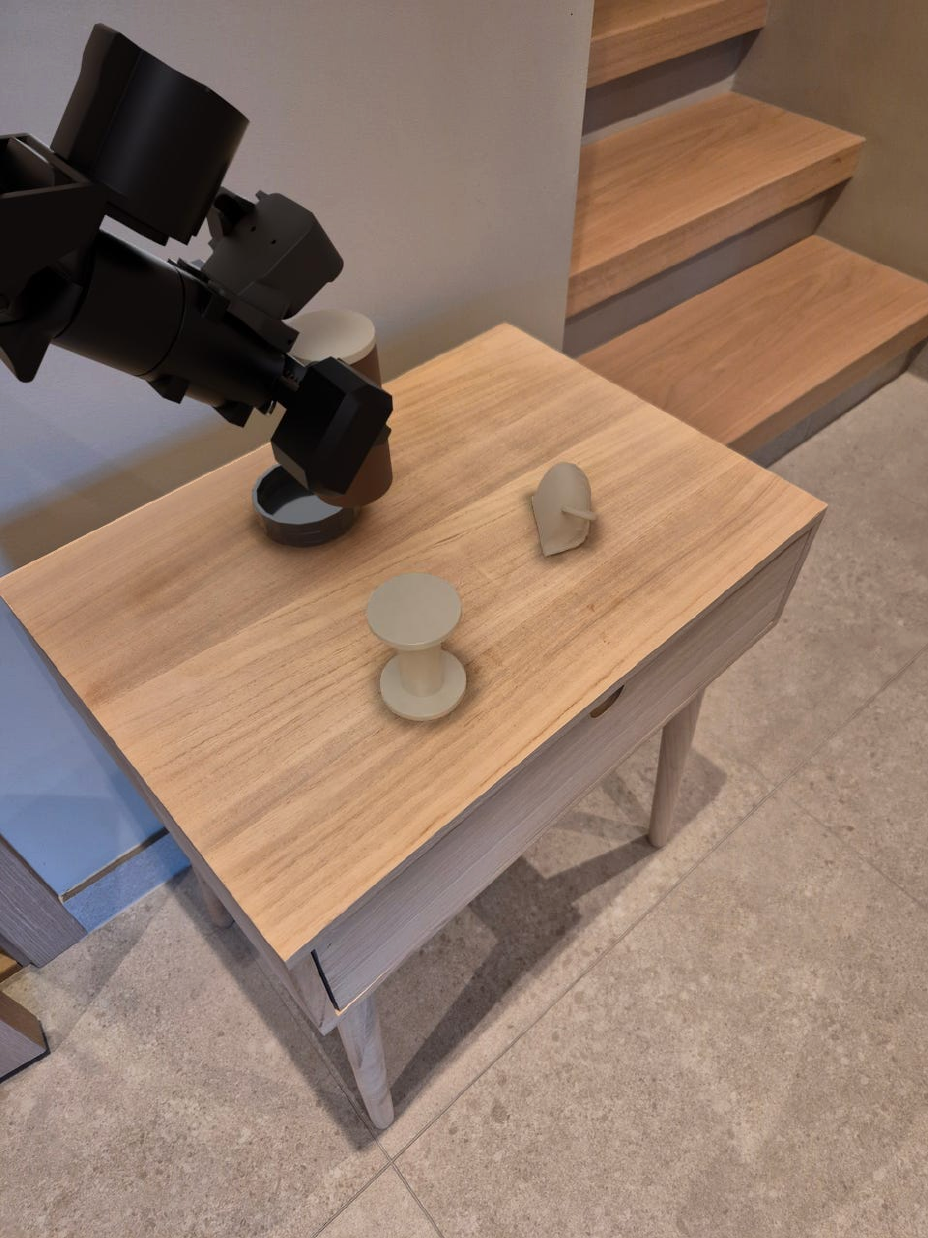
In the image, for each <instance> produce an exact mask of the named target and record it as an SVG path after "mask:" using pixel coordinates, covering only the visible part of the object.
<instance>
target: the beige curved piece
mask: <svg viewBox="0 0 928 1238" xmlns="http://www.w3.org/2000/svg"><path fill="white" fill-rule="evenodd" d="M530 500H531V505H532V509H533V513H534V517H535V521H536V525H537V529H538V536H539V541H540V546H541V550H542V553H543V556H544V557H545V558H547V557H549V556H553V555H556V554H559V553H562V552H566V551H568V550H572V549H575V548H577V547H579V545H581V544H582V543H584V542H585V539H586V537H587V536H588V535H589V529H590V527H591V524H590V523H591V522H596V521H597V520H598V517H599V516H598V514H597V513H596V512H593V511H591V506H592V488H591V485H590V482H589V479H588V476H587V475H586V473H584V471H583V469H582V468H581V467H579V466H578V465H577V464H576V463H571V462H568V461H561V462H557V463H555V464H554V465H552V466H551V467H550V468H549V469H548V470H547V471H546V472H545V474H544V475H543V477H542V478H541V480H540V482H539V483H538V485H537V488H536V490H535V493H534V495H532V496H531V499H530Z"/></svg>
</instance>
